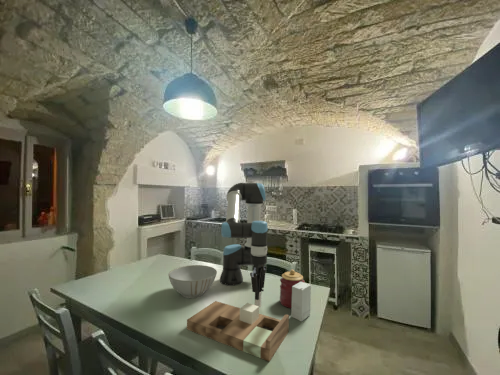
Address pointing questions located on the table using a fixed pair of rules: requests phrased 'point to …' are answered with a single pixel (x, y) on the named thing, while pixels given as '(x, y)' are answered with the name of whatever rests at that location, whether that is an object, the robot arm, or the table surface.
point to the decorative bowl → (192, 279)
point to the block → (249, 313)
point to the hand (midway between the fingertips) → (257, 305)
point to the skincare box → (301, 301)
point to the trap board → (240, 329)
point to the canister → (288, 287)
